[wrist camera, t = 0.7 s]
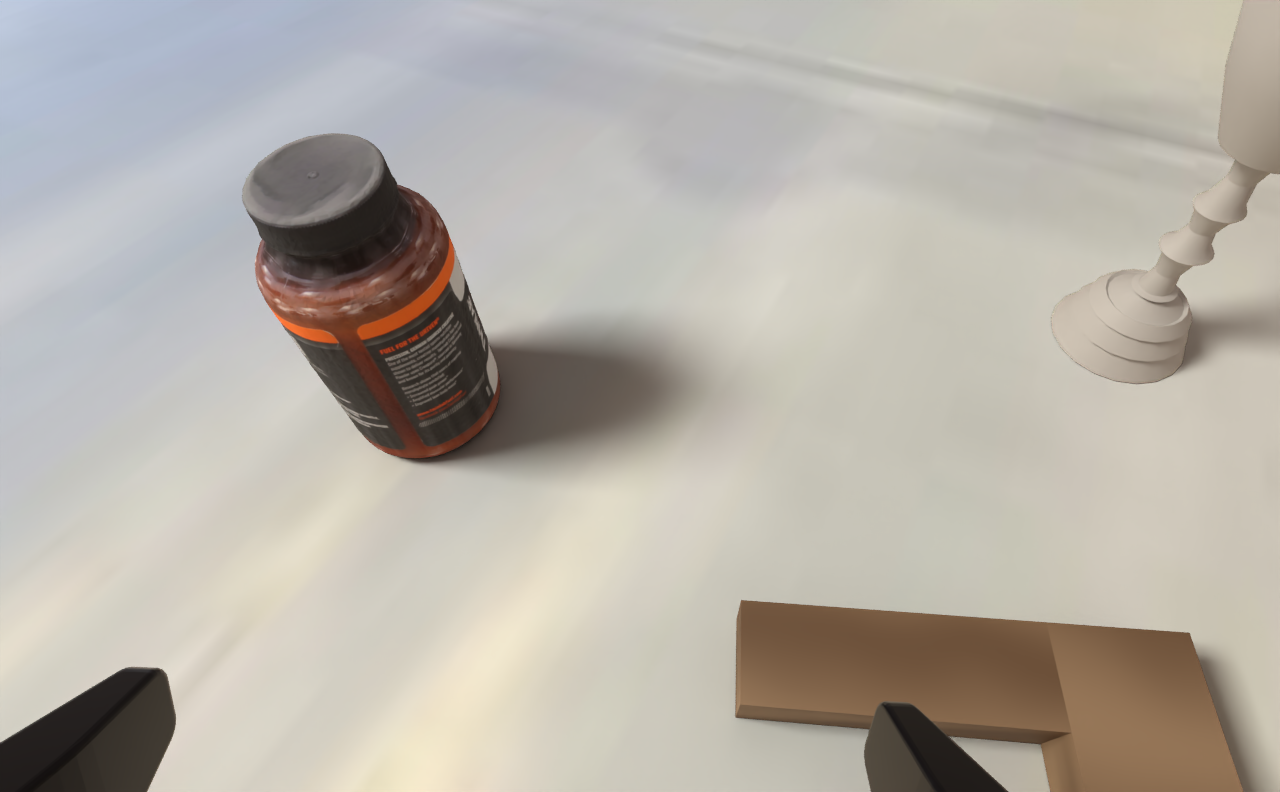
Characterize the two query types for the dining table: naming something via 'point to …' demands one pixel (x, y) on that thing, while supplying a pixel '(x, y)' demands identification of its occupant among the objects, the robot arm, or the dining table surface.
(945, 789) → the robot arm
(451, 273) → the supplement bottle
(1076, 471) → the dining table surface
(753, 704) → the notched board
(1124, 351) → the chalice
